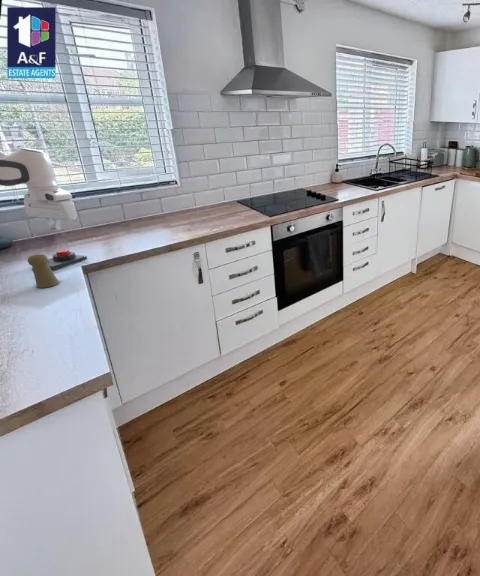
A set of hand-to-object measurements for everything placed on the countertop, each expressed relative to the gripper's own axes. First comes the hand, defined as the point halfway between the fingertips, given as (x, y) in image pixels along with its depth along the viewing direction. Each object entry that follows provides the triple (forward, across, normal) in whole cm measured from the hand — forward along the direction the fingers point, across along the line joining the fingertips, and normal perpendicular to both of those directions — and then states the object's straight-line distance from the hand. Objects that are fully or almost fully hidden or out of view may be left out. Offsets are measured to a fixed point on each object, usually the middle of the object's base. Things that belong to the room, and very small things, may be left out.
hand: (55, 229), depth 145 cm
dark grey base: (+15, 0, -2) cm, 15 cm away
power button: (+11, 0, 0) cm, 11 cm away
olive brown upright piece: (+15, +13, -18) cm, 27 cm away
